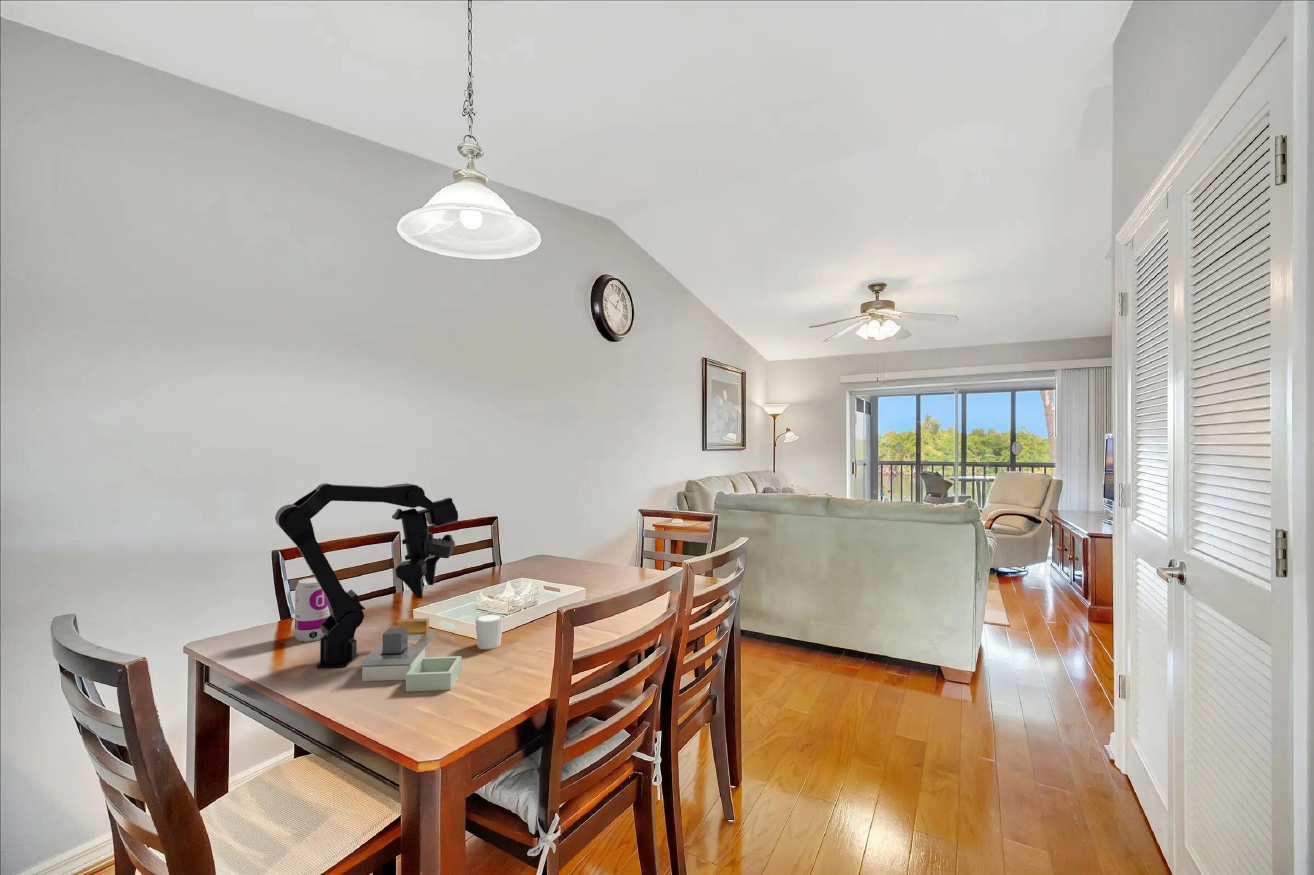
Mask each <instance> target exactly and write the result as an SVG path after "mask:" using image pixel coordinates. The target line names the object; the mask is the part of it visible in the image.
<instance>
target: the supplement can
mask: <svg viewBox="0 0 1314 875" xmlns="http://www.w3.org/2000/svg"><path fill="white" fill-rule="evenodd" d="M294 590H295V591H294V592H295V593H294V594H295V595H294V598H295V599H294V602H295V603H294V604H295V607H294V608H295V609H294V611H295V612H294V638H295V639H296V640H297V641H298V642H302V641H304V642H307V643H309V642H314V641H320V638H322V637H323V636H324V635H325V634H324V633H323V632H322V629H321V627H320V625H321V624H322V623H323V622H324V621H325V620H326V619H327V618H328V617H329V616H330V612H329V608H328V605H327V600H326V596H325V594H324V592H323V591H322V589H321V587H320V585H319V584H318V582H317V580H316V578H315V577H314V576H313V577H307V578H303V579H300V580H298V583H297V585H296V586H295V589H294ZM304 642H303V643H304Z"/></svg>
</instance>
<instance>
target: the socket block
mask: <svg viewBox="0 0 1314 875" xmlns="http://www.w3.org/2000/svg"><path fill="white" fill-rule="evenodd" d="M423 657H426V647H425V648H424V649H423V650H422V651H421V652H420V654H419V655H418V656H417V657H416V658H415V660H414V661H413V662H412V663H411V664H400V665H372V666H362V667H361V668H362V669H361V672H362V674H361V675H362V676H361V679H362V680H361V681H362V682H370V681H371V682H374V681H375V682H376V681H378V682H379V681H399V680H400V681H402V680H405V681H406V674H407V673H408V672H409V670H410V669H411V668H412V667H413V665H414V664H415V663H416V662H417V661H418V659H419V658H423Z"/></svg>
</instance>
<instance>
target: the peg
mask: <svg viewBox="0 0 1314 875" xmlns="http://www.w3.org/2000/svg"><path fill="white" fill-rule="evenodd" d="M408 641H409V640H408V628H397V627H389V628H388V629H387V630H386V631H384V633H382V642H383V649H382V655H402V654H403V653H404V652H405V651H406V650H407V649H408V645H409V644H408Z"/></svg>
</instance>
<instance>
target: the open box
mask: <svg viewBox="0 0 1314 875" xmlns="http://www.w3.org/2000/svg"><path fill="white" fill-rule="evenodd" d="M461 673H462V655H457V656H431V657H429V656H427V657H426V656H425V657H423V658H419V659H418V661H417V662H416V663H415V664H414V665H413V667H412V668H411V669H410V670H409V672H408V673H407V674H406V680H405V692H406V693H409V692H428V691H429V692H431V691H452V689H453V687H454V684H455V683H456V682H457V679H458V678H459V676H460V674H461Z"/></svg>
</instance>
